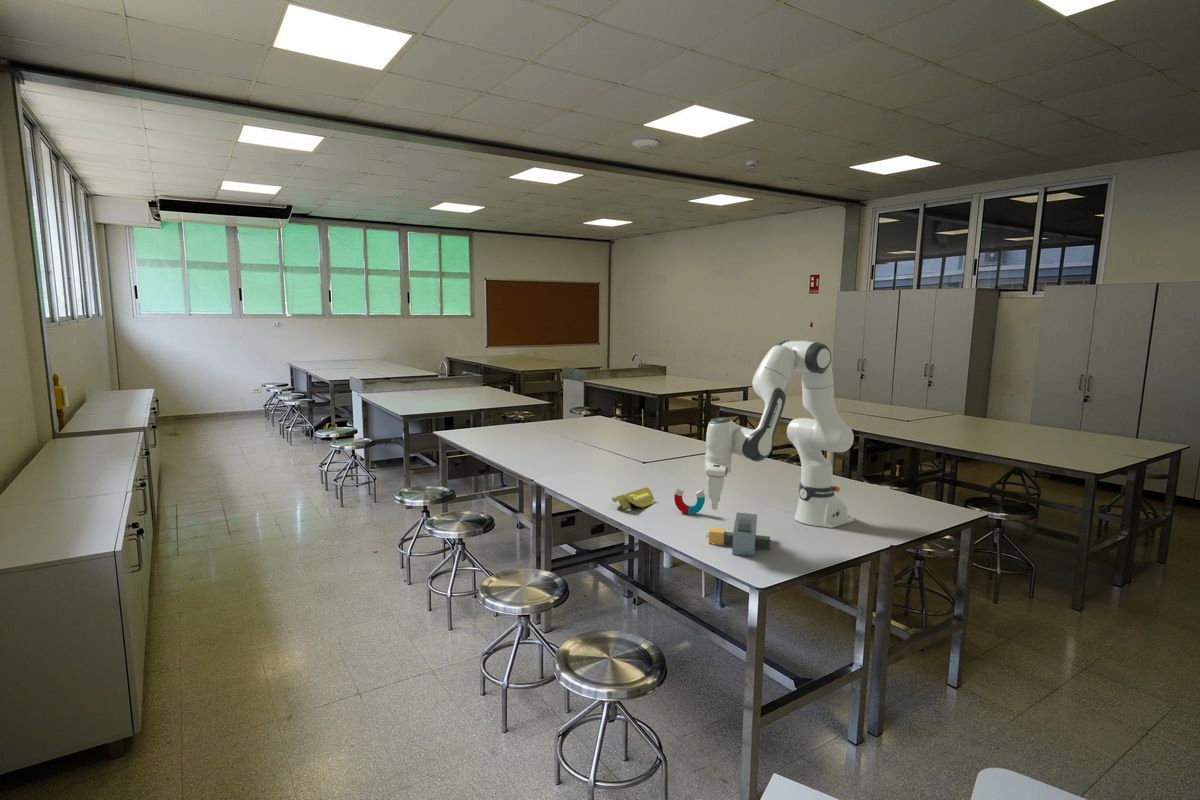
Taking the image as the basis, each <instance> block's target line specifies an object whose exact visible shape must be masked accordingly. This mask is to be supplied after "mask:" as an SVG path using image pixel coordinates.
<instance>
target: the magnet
mask: <svg viewBox="0 0 1200 800" xmlns="http://www.w3.org/2000/svg"><path fill="white" fill-rule="evenodd" d="M684 492H685V490H684V489H682V488H681V487H679V486H677V488H676V489H675V492H674V495H673V496H674V499H673V500H674V503H675V506H676V508H677V509H678V511H680V512H681V513H683V514H685V513H686V514H685V515H695V514H697V513H699V512H700V511H701V510H702V508H703V507H704V505H705V500H706V497H705V491H704V489H702V488H701V489H700V490H698V491H696V492H695V495H696V503H695V504H693V505H689V504H688V505H687V504H686V503H685V502H684V500H683V494H684Z"/></svg>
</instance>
